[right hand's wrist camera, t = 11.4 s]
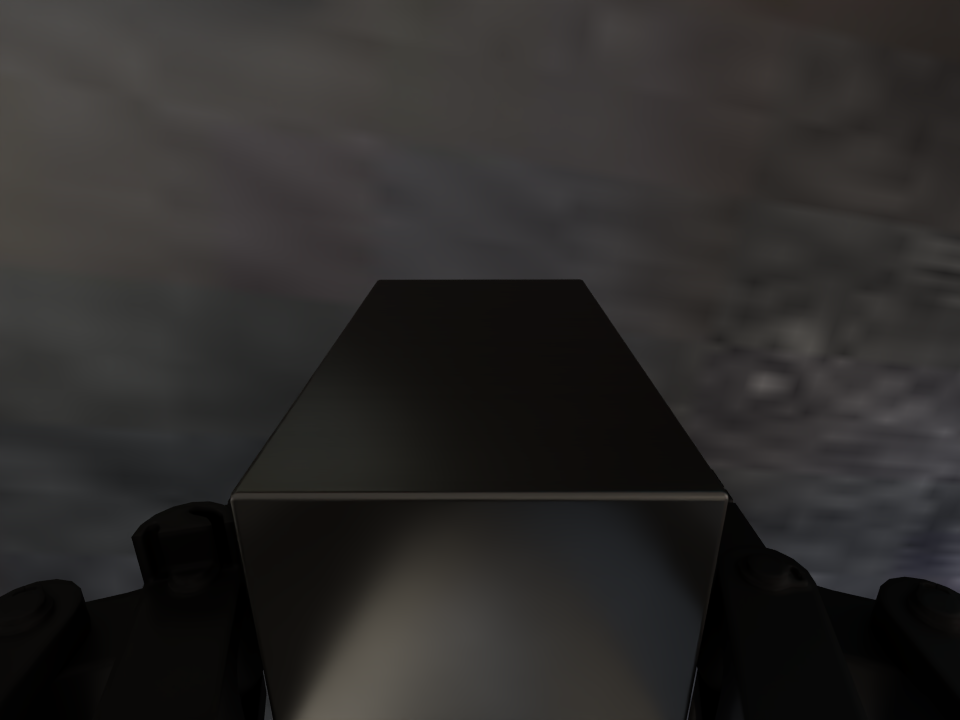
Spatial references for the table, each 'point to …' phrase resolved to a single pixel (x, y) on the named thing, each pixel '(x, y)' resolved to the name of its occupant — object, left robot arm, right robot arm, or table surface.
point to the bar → (479, 518)
